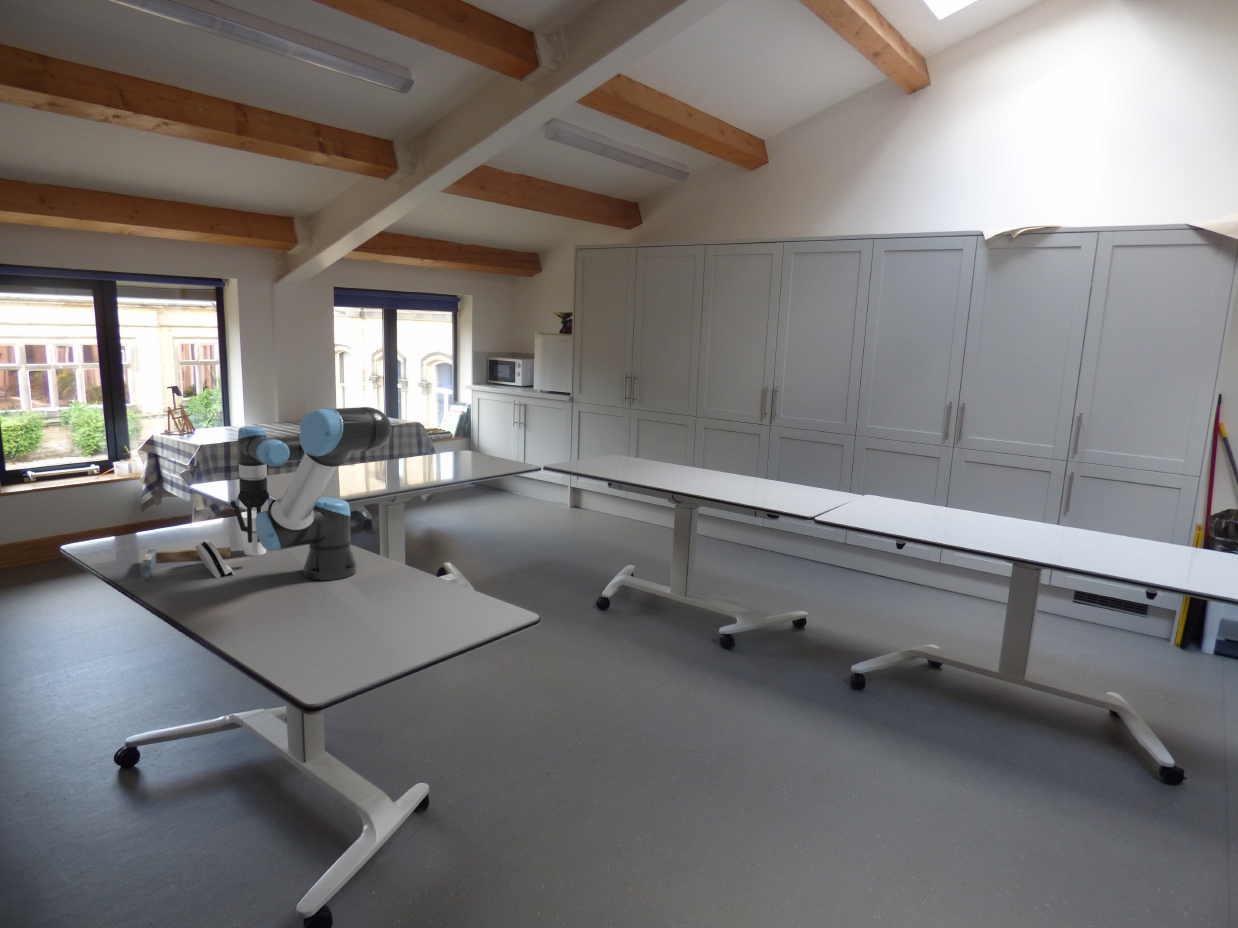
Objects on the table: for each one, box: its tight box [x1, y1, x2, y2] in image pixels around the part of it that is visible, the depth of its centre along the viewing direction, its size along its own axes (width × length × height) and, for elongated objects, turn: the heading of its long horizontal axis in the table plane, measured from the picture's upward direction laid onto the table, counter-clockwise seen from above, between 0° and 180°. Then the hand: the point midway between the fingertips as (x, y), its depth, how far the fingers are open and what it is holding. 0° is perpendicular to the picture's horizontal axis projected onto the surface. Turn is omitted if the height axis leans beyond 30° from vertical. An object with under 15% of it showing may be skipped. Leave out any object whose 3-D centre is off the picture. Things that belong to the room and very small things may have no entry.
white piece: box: [194, 539, 236, 579], centre depth 216 cm, size 17×5×10 cm, turn 42°
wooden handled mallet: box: [139, 547, 232, 581], centre depth 217 cm, size 22×17×4 cm
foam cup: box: [237, 510, 267, 557], centre depth 233 cm, size 10×9×13 cm
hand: (255, 552), depth 221 cm, fingers closed
